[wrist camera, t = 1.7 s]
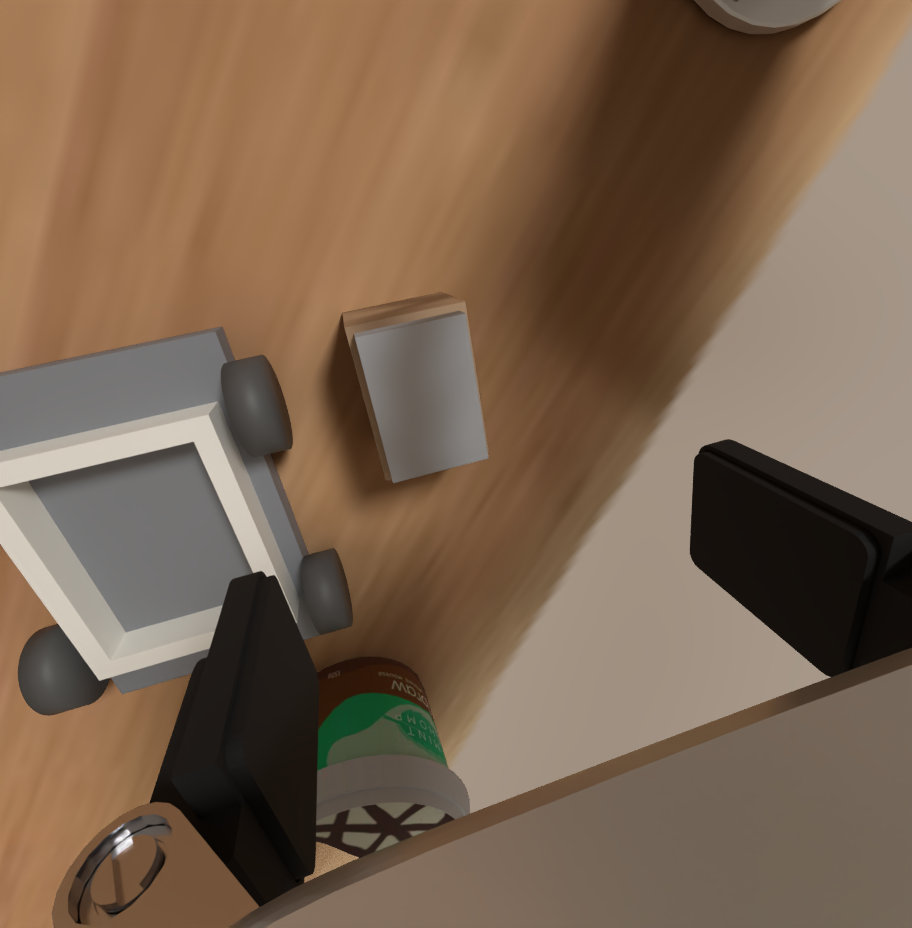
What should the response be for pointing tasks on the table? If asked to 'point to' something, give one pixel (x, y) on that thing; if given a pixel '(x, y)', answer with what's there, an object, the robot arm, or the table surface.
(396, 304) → the grey block on wood
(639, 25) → the table surface
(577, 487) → the table surface
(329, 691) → the food container
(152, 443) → the chassis
